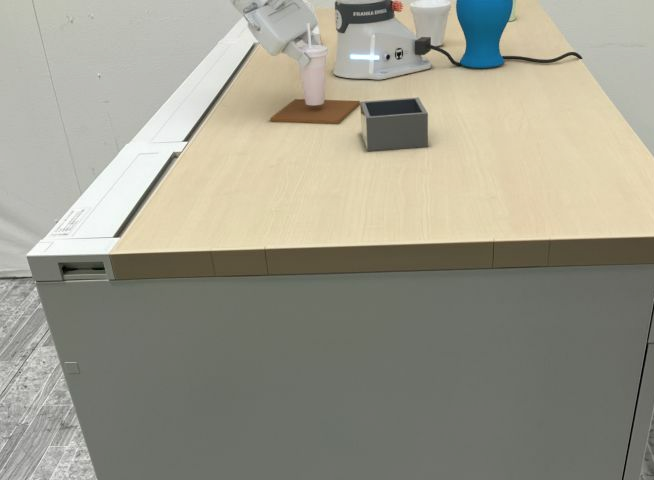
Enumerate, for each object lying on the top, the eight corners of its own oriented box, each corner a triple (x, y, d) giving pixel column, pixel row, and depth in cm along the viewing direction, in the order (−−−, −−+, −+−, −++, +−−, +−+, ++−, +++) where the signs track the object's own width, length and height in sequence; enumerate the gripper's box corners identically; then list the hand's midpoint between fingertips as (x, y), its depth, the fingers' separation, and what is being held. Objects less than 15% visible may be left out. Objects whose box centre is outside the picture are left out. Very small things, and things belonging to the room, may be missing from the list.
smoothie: (294, 106, 161) (287, 25, 152) (305, 98, 166) (299, 18, 157) (324, 107, 160) (319, 25, 151) (335, 99, 164) (331, 19, 155)
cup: (456, 42, 208) (457, -1, 202) (442, 51, 201) (442, 7, 195) (419, 40, 211) (419, -2, 205) (404, 49, 204) (403, 6, 198)
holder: (361, 133, 151) (360, 101, 148) (418, 129, 152) (418, 97, 148) (367, 151, 143) (366, 117, 140) (427, 146, 144) (427, 113, 140)
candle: (496, 21, 225) (497, -14, 220) (496, 18, 229) (498, -17, 224) (514, 21, 224) (516, -14, 219) (515, 17, 228) (517, -17, 223)
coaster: (295, 101, 171) (295, 98, 170) (359, 104, 167) (359, 100, 167) (270, 121, 161) (270, 118, 160) (338, 123, 157) (338, 120, 157)
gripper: (249, -5, 144) (306, 58, 148) (290, -23, 159) (341, 35, 163) (229, 24, 148) (285, 85, 152) (271, 4, 163) (321, 59, 167)
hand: (314, 59), depth 158 cm, fingers closed on smoothie, 6 cm apart
